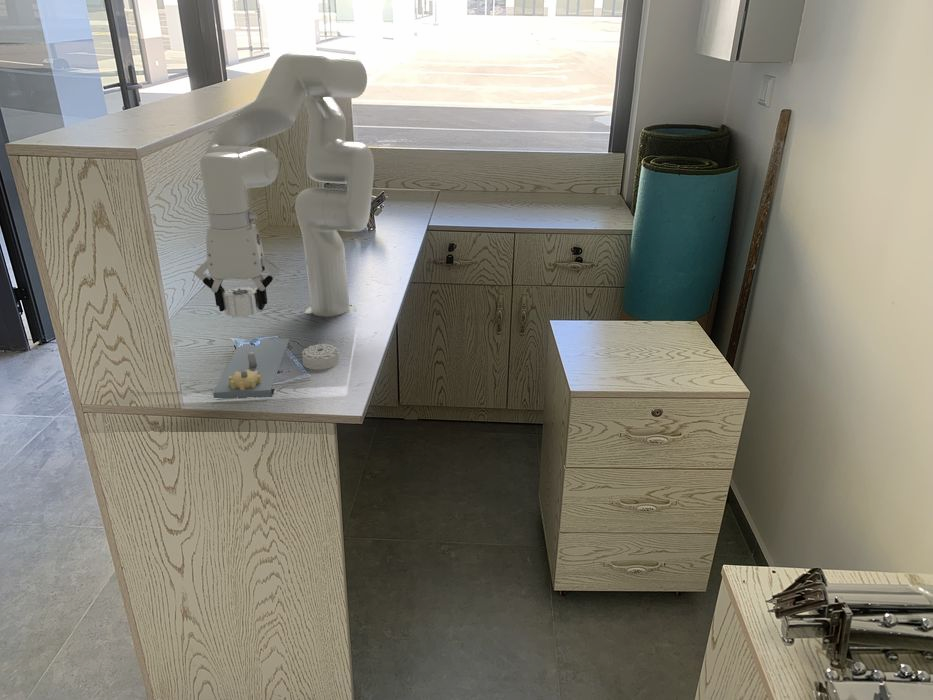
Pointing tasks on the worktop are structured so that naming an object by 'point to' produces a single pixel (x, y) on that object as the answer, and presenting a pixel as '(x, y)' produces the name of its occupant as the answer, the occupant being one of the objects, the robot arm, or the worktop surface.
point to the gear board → (252, 370)
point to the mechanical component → (320, 356)
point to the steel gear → (240, 302)
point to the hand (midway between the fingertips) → (242, 307)
